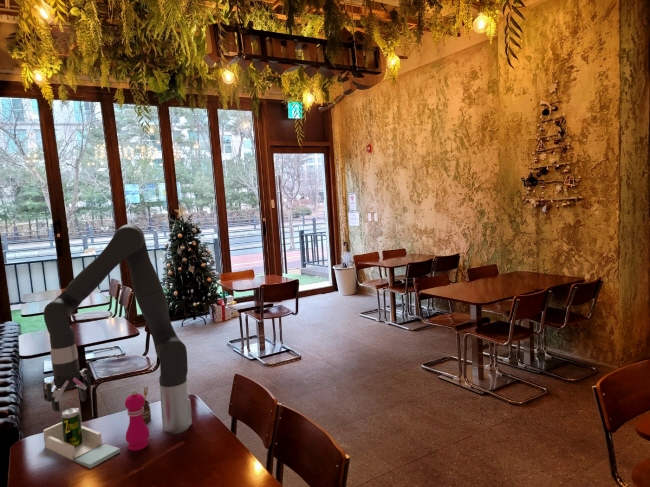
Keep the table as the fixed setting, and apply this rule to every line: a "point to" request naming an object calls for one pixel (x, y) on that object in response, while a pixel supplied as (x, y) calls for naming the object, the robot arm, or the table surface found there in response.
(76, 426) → the beer can
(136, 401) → the pepper mill
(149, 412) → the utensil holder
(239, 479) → the table surface
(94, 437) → the tray
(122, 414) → the table surface
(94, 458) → the panel
